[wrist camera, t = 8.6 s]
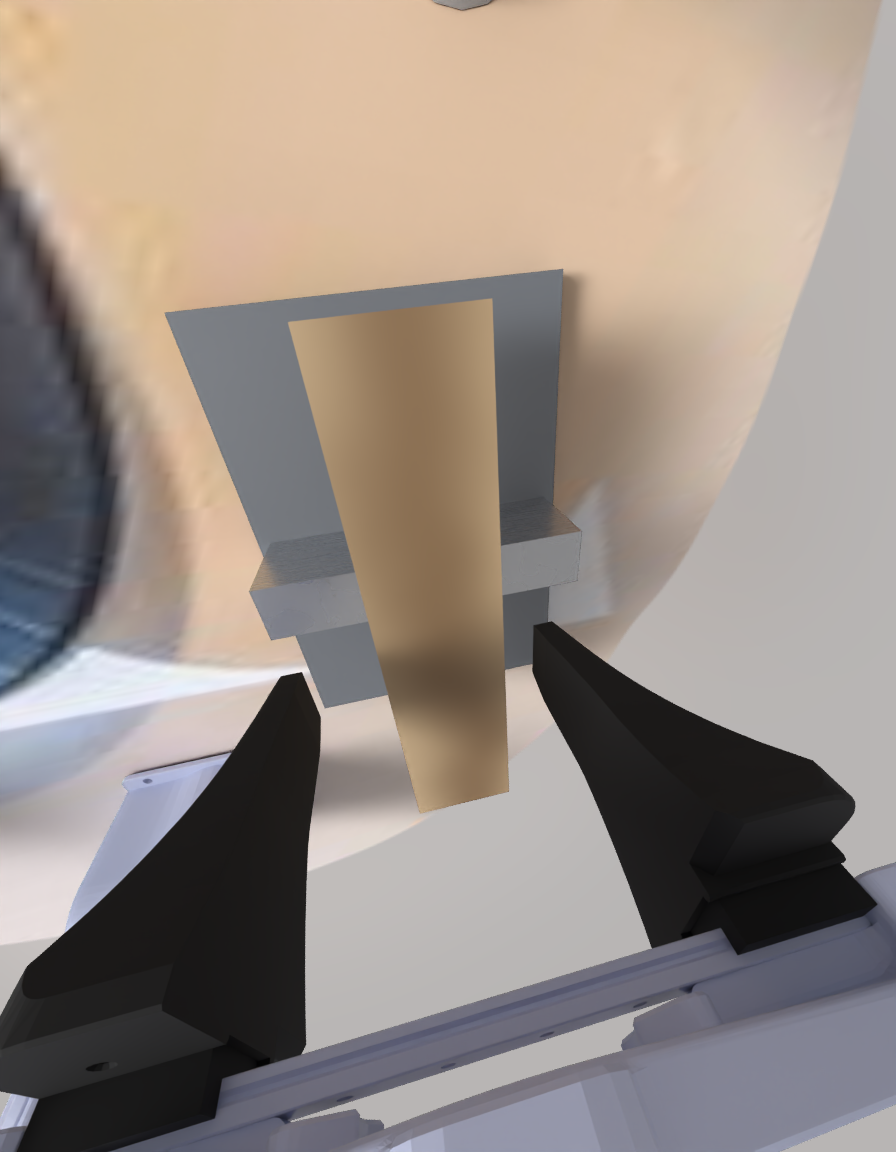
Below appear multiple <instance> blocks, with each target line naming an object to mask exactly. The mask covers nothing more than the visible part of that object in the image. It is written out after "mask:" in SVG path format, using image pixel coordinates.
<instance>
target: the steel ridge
mask: <svg viewBox="0 0 896 1152" xmlns="http://www.w3.org/2000/svg"><path fill="white" fill-rule="evenodd" d="M499 510H500V540H501V570H502V595H507V594H512V593H517V592H522V591H527V590H532V589H538V588H543V587H548V586H553V585H558V584H563V583H568V582H574V581H577V578H578V567H579V556H580V544H581V533H582V531H581V530H580V529H579V528H578V527H576V526H575V525H574V524H573V523H572V522H571V521H570V520H569V519H568V518H567V517H565V516H564V515H563V514H562V513H561V512H560V511H559V510H558V509H557V508H555V507H554V506H553V505H552V504H551V503H550V502H549V501H548V500H547V499H545V498H544V497H539V498H533V499H527V500H521V501H515V502H509V503H503V504H499ZM249 592H250V595H251V597H252V599H253V601H254V603H255V606H256V608H257V610H258V612H259V614H260V617H261V619H262V621H263V623H264V625H265V628H266V630H267V632H268V634H269V636H270V639H271V640H276V639H281V638H286V637H291V636H296V635H301V634H306V633H312V632H317V631H322V630H327V629H332V628H337V627H342V626H348V625H353V624H358V623H363V622H368V618H367V615H366V611H365V607H364V604H363V600H362V596H361V592H360V589H359V585H358V581H357V578H356V574H355V570H354V566H353V563H352V559H351V555H350V552H349V548H348V544H347V540H346V537H345V533H344V531H339V532H333V533H327V534H321V535H315V536H310V537H304V538H298V539H292V540H286V541H280V542H274V543H270V544H269V547H268V549H267V551H266V554H265V556H264V558H263V561H262V563H261V565H260V568H259V570H258V572H257V575H256V577H255V579H254V581H253V584H252V586H251V588H250V591H249Z"/></svg>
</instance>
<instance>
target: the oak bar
mask: <svg viewBox="0 0 896 1152" xmlns="http://www.w3.org/2000/svg"><path fill="white" fill-rule="evenodd" d="M288 325H289V329H290V332H291V336H292V340H293V343H294V347H295V351H296V355H297V358H298V362H299V366H300V369H301V373H302V377H303V381H304V384H305V388H306V392H307V395H308V399H309V403H310V407H311V410H312V414H313V418H314V421H315V425H316V429H317V433H318V436H319V440H320V444H321V447H322V451H323V455H324V459H325V462H326V466H327V470H328V473H329V477H330V481H331V485H332V488H333V492H334V496H335V499H336V503H337V507H338V511H339V514H340V518H341V522H342V526H343V529H344V533H345V537H346V540H347V544H348V548H349V552H350V555H351V559H352V563H353V566H354V570H355V574H356V578H357V581H358V585H359V589H360V592H361V596H362V600H363V604H364V607H365V611H366V615H367V618H368V622H369V626H370V630H371V633H372V637H373V641H374V644H375V648H376V652H377V656H378V659H379V663H380V667H381V670H382V674H383V678H384V682H385V685H386V689H387V693H388V696H389V700H390V704H391V708H392V711H393V715H394V719H395V722H396V726H397V730H398V734H399V737H400V741H401V745H402V749H403V752H404V756H405V760H406V763H407V767H408V771H409V775H410V778H411V782H412V786H413V789H414V793H415V797H416V801H417V804H418V808H419V812H420V813H424V812H428V811H432V810H436V809H440V808H445V807H449V806H453V805H456V804H460V803H465V802H469V801H473V800H477V799H481V798H485V797H489V796H493V795H497V794H501V793H505V792H509V779H508V748H507V718H506V689H505V659H504V629H503V599H502V570H501V540H500V510H499V481H498V451H497V421H496V391H495V362H494V332H493V302H492V298H491V299H482V300H474V301H465V302H456V303H448V304H439V305H430V306H422V307H413V308H404V309H396V310H387V311H378V312H370V313H361V314H352V315H344V316H335V317H327V318H318V319H309V320H301V321H292V322H288Z"/></svg>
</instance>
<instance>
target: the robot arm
mask: <svg viewBox="0 0 896 1152" xmlns="http://www.w3.org/2000/svg"><path fill="white" fill-rule="evenodd" d="M532 672H533V674H534V677H535V679H536V682H537V685H538V687H539V690H540V692H541V694H542V697H543V699H544V701H545V703H546V705H547V707H548V709H549V711H550V713H551V715H552V716H553V718H554V720H555V722H556V724H557V726H558V727H559V729H560V731H561V733H562V734H563V736H564V738H565V740H566V742H567V744H568V745H569V747H570V749H571V751H572V753H573V755H574V757H575V758H576V760H577V762H578V764H579V766H580V768H581V770H582V772H583V774H584V776H585V778H586V780H587V783H588V785H589V787H590V790H591V792H592V794H593V796H594V799H595V801H596V804H597V806H598V808H599V811H600V813H601V815H602V818H603V820H604V823H605V825H606V828H607V830H608V833H609V835H610V838H611V840H612V842H613V845H614V848H615V850H616V853H617V855H618V858H619V860H620V863H621V865H622V868H623V871H624V873H625V876H626V878H627V881H628V884H629V886H630V889H631V892H632V894H633V897H634V900H635V903H636V905H637V908H638V911H639V913H640V916H641V919H642V921H643V924H644V927H645V930H646V933H647V936H648V939H649V942H650V944H651V947H652V949H649V950H646V951H642V952H639V953H636V954H633V955H629V956H626V957H623V958H619V959H616V960H613V961H609V962H606V963H603V964H600V965H596V966H593V967H589V968H586V969H583V970H580V971H576V972H573V973H570V974H566V975H563V976H560V977H556V978H554V979H550V980H547V981H544V982H540V983H537V984H533V985H530V986H527V987H523V988H520V989H517V990H513V991H510V992H507V993H504V994H500V995H497V996H494V997H490V998H487V999H484V1000H481V1001H477V1002H474V1003H471V1004H467V1005H464V1006H461V1007H457V1008H454V1009H451V1010H447V1011H444V1012H441V1013H438V1014H434V1015H431V1016H428V1017H424V1018H421V1019H418V1020H415V1021H411V1022H408V1023H405V1024H401V1025H398V1026H394V1027H392V1028H388V1029H385V1030H381V1031H378V1032H375V1033H371V1034H368V1035H365V1036H362V1037H358V1038H355V1039H352V1040H348V1041H345V1042H342V1043H338V1044H335V1045H332V1046H328V1047H325V1048H322V1049H319V1050H315V1051H312V1052H309V1053H305V1054H302V1052H303V1050H304V1048H305V1046H306V1019H305V918H306V880H307V858H308V841H309V831H310V823H311V816H312V808H313V801H314V794H315V787H316V779H317V772H318V764H319V756H320V740H321V717H320V714H319V712H318V710H317V707H316V705H315V702H314V700H313V698H312V695H311V693H310V690H309V688H308V686H307V683H306V681H305V678H304V676H303V673H302V672H300V673H295V674H290V675H286V676H281V677H280V679H279V680H278V681H277V683H276V685H275V686H274V688H273V690H272V691H271V693H270V694H269V696H268V698H267V699H266V701H265V703H264V704H263V706H262V707H261V709H260V711H259V712H258V714H257V715H256V717H255V719H254V720H253V722H252V723H251V725H250V726H249V728H248V729H247V731H246V732H245V734H244V735H243V737H242V738H241V740H240V741H239V743H238V744H237V746H236V747H235V749H234V750H233V751H232V753H227V754H223V755H218V756H214V757H209V758H205V759H200V760H196V761H191V762H186V763H182V764H177V765H173V766H168V767H164V768H159V769H155V770H150V771H146V772H141V773H137V774H132V775H129V776H126V777H125V778H124V780H123V782H122V785H123V787H124V788H125V789H126V790H127V791H128V793H127V795H126V797H125V799H124V801H123V803H122V805H121V807H120V808H119V810H118V812H117V814H116V816H115V818H114V820H113V822H112V824H111V826H110V828H109V830H108V832H107V834H106V836H105V838H104V840H103V842H102V844H101V846H100V848H99V850H98V852H97V854H96V856H95V858H94V860H93V862H92V864H91V866H90V868H89V869H88V871H87V873H86V875H85V877H84V879H83V881H82V883H81V885H80V887H79V889H78V891H77V893H76V896H75V898H74V900H73V903H72V906H71V909H70V912H69V916H68V920H67V924H66V930H65V933H64V934H63V935H62V936H61V937H60V938H59V939H58V940H56V942H54V943H53V944H52V945H51V946H50V947H49V948H47V949H46V950H45V951H44V952H43V953H42V954H41V955H40V956H38V957H37V958H36V959H35V960H34V961H33V962H31V963H30V964H29V965H28V966H27V968H26V969H25V971H24V973H23V975H22V976H21V978H20V980H19V982H18V984H17V986H16V987H15V989H14V991H13V993H12V995H11V997H10V999H9V1000H8V1002H7V1004H6V1006H5V1008H4V1010H3V1012H2V1014H1V1016H0V1091H1V1092H6V1093H11V1096H10V1098H9V1100H8V1102H7V1104H6V1107H5V1109H4V1111H3V1113H2V1115H1V1117H0V1152H780V1151H783V1150H785V1149H788V1148H790V1147H792V1146H795V1145H798V1144H800V1143H802V1142H805V1141H807V1140H809V1139H812V1138H815V1137H817V1136H820V1135H822V1134H824V1133H827V1132H829V1131H832V1130H834V1129H837V1128H839V1127H842V1126H844V1125H847V1124H849V1123H852V1122H854V1121H856V1120H859V1119H861V1118H864V1117H866V1116H869V1115H871V1114H874V1113H876V1112H879V1111H881V1110H884V1109H886V1108H888V1107H891V1106H893V1105H896V862H895V863H892V864H888V865H885V866H881V867H878V868H875V869H872V870H869V871H866V872H864V873H862V874H860V875H858V876H856V877H855V878H853V876H852V875H851V874H850V873H849V872H848V871H847V870H846V869H845V868H844V866H843V865H842V864H841V863H844V861H845V860H846V858H845V856H844V854H843V853H842V852H841V851H840V850H839V849H838V848H837V847H836V846H835V845H834V844H833V843H832V841H831V840H832V839H833V838H834V837H835V836H836V835H837V834H838V832H839V831H840V830H841V829H842V828H843V827H844V826H845V824H846V823H847V822H848V821H849V819H850V818H851V817H852V815H853V814H854V811H855V801H854V799H853V798H852V796H851V795H849V794H848V793H847V792H846V791H845V790H844V789H843V788H842V787H841V786H840V785H839V784H838V783H837V782H835V781H834V780H833V779H832V778H831V777H830V776H829V775H828V774H827V773H826V772H825V771H824V770H823V769H822V768H821V767H820V766H818V765H817V764H816V763H815V762H814V761H813V760H810V759H807V758H804V757H801V756H798V755H796V754H793V753H790V752H787V751H784V750H781V749H778V748H775V747H773V746H770V745H767V744H764V743H761V742H759V741H756V740H754V739H751V738H748V737H746V736H744V735H741V734H739V733H736V732H734V731H731V730H729V729H726V728H724V727H722V726H720V725H717V724H715V723H713V722H710V721H708V720H706V719H704V718H702V717H700V716H698V715H696V714H694V713H691V712H689V711H687V710H685V709H683V708H681V707H679V706H677V705H675V704H673V703H671V702H670V701H668V700H666V699H664V698H662V697H661V696H658V695H657V694H655V693H653V692H652V691H650V690H648V689H646V688H645V687H643V686H641V685H639V684H638V683H636V682H634V681H633V680H632V679H630V678H628V677H627V676H625V675H624V674H622V673H621V672H619V671H617V670H616V669H615V668H613V667H612V666H610V665H609V664H608V663H606V662H605V661H603V660H602V659H601V658H599V657H598V656H596V655H595V654H594V653H592V652H591V651H590V650H588V649H587V648H586V647H584V646H583V645H582V644H580V643H579V642H578V641H577V640H575V639H574V638H573V637H571V636H570V635H569V634H568V633H566V632H565V631H564V630H562V629H561V628H560V627H559V626H557V625H556V624H555V623H553V622H552V621H551V622H546V623H541V624H536V625H533V668H532ZM677 997H678V998H677ZM674 998H676V999H674ZM671 999H674V1000H671ZM668 1000H671V1001H669V1002H667V1003H665V1004H663V1005H661V1006H659V1007H657V1008H654V1009H653V1010H650V1011H648V1012H646V1013H644V1014H642V1015H640V1016H637V1017H635V1018H634V1022H633V1026H634V1030H633V1032H631V1033H630V1034H629V1035H628V1036H627V1037H626V1038H624V1039H623V1040H622V1044H621V1047H622V1049H623V1051H620V1052H616V1053H612V1054H608V1055H605V1056H601V1057H597V1058H594V1059H590V1060H587V1061H583V1062H580V1063H576V1064H572V1065H569V1066H565V1067H562V1068H559V1069H555V1070H553V1071H549V1072H546V1073H542V1074H539V1075H536V1076H532V1077H529V1078H526V1079H523V1080H520V1081H517V1082H514V1083H511V1084H508V1085H505V1086H502V1087H498V1088H495V1089H492V1090H490V1091H486V1092H484V1093H481V1094H478V1095H475V1096H472V1097H470V1098H466V1099H464V1100H461V1101H458V1102H455V1103H452V1104H450V1105H447V1106H444V1107H441V1108H438V1109H436V1110H433V1111H430V1112H428V1113H425V1114H423V1115H420V1116H417V1117H415V1118H412V1119H410V1120H407V1121H404V1122H401V1123H399V1124H396V1125H394V1126H391V1127H389V1128H386V1129H384V1124H383V1123H382V1122H381V1120H364V1119H362V1118H360V1114H359V1113H358V1112H357V1110H356V1109H353V1110H348V1111H343V1112H338V1113H334V1114H329V1115H324V1116H319V1117H314V1118H310V1119H304V1120H299V1121H296V1122H290V1121H291V1120H295V1119H298V1118H301V1117H304V1116H307V1115H310V1114H313V1113H317V1112H320V1111H323V1110H326V1109H329V1108H332V1107H335V1106H338V1105H341V1104H345V1103H348V1102H351V1101H354V1100H357V1099H360V1098H364V1097H367V1096H370V1095H373V1094H376V1093H379V1092H382V1091H385V1090H388V1089H392V1088H395V1087H398V1086H401V1085H404V1084H407V1083H411V1082H414V1081H417V1080H420V1079H423V1078H426V1077H429V1076H433V1075H436V1074H439V1073H442V1072H445V1071H448V1070H451V1069H455V1068H457V1067H461V1066H464V1065H467V1064H470V1063H473V1062H476V1061H480V1060H483V1059H486V1058H489V1057H492V1056H495V1055H498V1054H501V1053H505V1052H507V1051H511V1050H514V1049H517V1048H520V1047H524V1046H527V1045H529V1044H533V1043H536V1042H539V1041H542V1040H545V1039H549V1038H552V1037H555V1036H558V1035H561V1034H564V1033H567V1032H570V1031H574V1030H577V1029H580V1028H583V1027H586V1026H589V1025H592V1024H595V1023H599V1022H602V1021H605V1020H608V1019H611V1018H614V1017H618V1016H621V1015H623V1014H627V1013H630V1012H633V1011H636V1010H639V1009H643V1008H646V1007H649V1006H652V1005H655V1004H658V1003H662V1002H665V1001H668ZM301 1054H302V1055H301Z"/></svg>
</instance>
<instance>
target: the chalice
mask: <svg viewBox="0 0 896 1152" xmlns="http://www.w3.org/2000/svg"><path fill="white" fill-rule="evenodd" d="M433 1H434V2H435V3H439V4H442V5H446V6H449V7H453V8H456V9H460V10H464V9H468V8H472V7H476V6H480V5H485V4H488V3H489V2H490V1H491V0H433Z"/></svg>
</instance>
